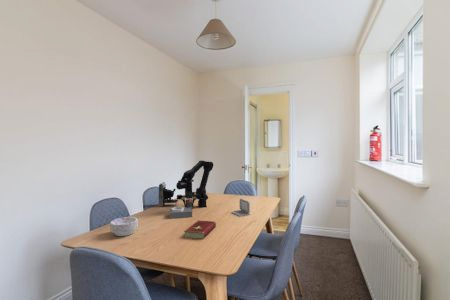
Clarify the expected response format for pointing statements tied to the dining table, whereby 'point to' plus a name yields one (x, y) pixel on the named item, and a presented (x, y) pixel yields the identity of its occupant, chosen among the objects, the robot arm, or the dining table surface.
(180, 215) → the octagon ring plate
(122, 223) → the speckled grey bowl
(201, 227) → the hardcover book
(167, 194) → the vintage camera
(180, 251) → the dining table surface
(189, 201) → the lens
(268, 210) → the dining table surface
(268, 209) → the dining table surface
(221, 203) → the dining table surface
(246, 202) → the handheld gaming console
